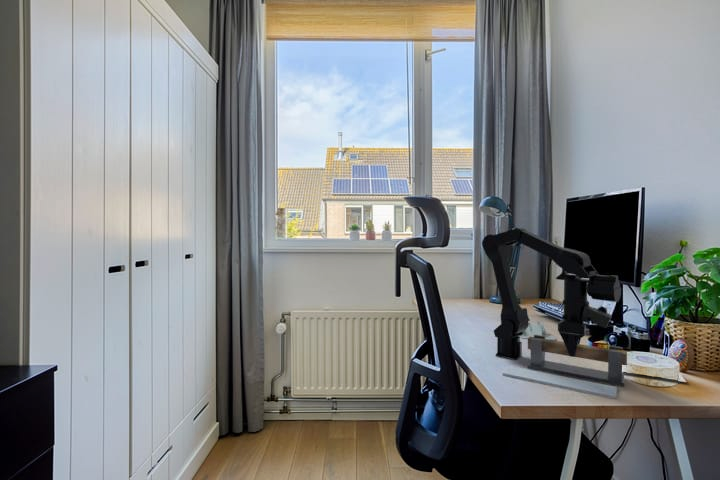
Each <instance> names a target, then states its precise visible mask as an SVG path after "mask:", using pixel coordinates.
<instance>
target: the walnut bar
mask: <svg viewBox="0 0 720 480" xmlns="http://www.w3.org/2000/svg"><path fill="white" fill-rule="evenodd" d="M531 338H533V339H540V340H542V352H545V353H549V354H555V355H561V356H567V357H571V356H570V355H569V353H568V350H567V348H566V346H565V344H564V341H563V340H562V341H561V340H556V341H555V340H549V339H542V338H535V337H529V338H528V339H527V350H530V339H531ZM608 350H612V351H619V352H622V365H626V366H627V365H628V362H627V361H628V351H627V350H623V351H622V350H615V349H609V347H608V348H607V347H601V346H594V345H590V344H589V345H587V344H581V343H580V344H578V345H577V349H576V353H575V357H574V358H578V359H579V358H580V359H585V360H589V361H590V360H591V361H597V362H604V363H608Z"/></svg>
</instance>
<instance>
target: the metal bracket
mask: <svg viewBox="0 0 720 480" xmlns="http://www.w3.org/2000/svg"><path fill="white" fill-rule="evenodd" d="M534 335H541V336H545V339H549V340H555V341H557V339H556V337H555V336H554V335H548V333H547V331H546V327H544V324H543V323H541V322H540V320H536V322H529V325H528V328H527V329H526V330H525V331H524V332H523V334H522V336H519V337H520V338H521V339H520V340H523V339H524V340H528V338H529V337H534Z"/></svg>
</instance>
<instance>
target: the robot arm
mask: <svg viewBox="0 0 720 480" xmlns="http://www.w3.org/2000/svg"><path fill="white" fill-rule="evenodd" d="M517 243H520V244H522V245H524V246H525V247H527V248H529V249H531V250H534V251H535V252H537V253H539V254H542V255H543V256H545V257H547V258H549V259H551V260H552V261H553V262H554V263H555V265H557V267H559V268H561V269H562V270H563V271H561V272H560V274H559V275H557V276H556V277H555V280H558V281H563V300H562V305H563V313H562V318H561V319H562V320H560V321H559V322H558V323H557V332H558V334H559V335H560V337H561V340H562V342H564V344H565V346H566V348H567V350H568V353H569V355H570V356H569V357H572V358H576V357H575V353H576V349H577V345H578V344H581V339H582V338H583V337H585V335H586V330H587V329H588V327H589V326H590V322H592V323H594V324H596V325H599V327H602V328H604V329H607V327H608V325H609V323H610V322H611V319H612V315H611V313H608V308H606V307H605V306H602V305H600V306H599V307H597V308H596V307H592V306H590V302H589V300H588V296H589V297H591V299H592V300H597V301H605V302H613V303H619V301H620V300H621V296H622V287H621V284H620V281H619V276H618V275H604V274H603V275H602V274H599V273H598V271H597V270H596V269H595V267H594V266H593V265H592V263H591V262H592V261H591V258H590V256H589V255H588V254H587V253H585V252H582V251H579V250H576V249H571V248H567V247H563V246H561V245H558V244H556V243H554V242H551V241H549V240H547V239H545V238H542V237H541V236H538V235H537V234H534V233H532V232H531V231H528V230H526V229H525V228H523V227H513V228H511V229H510V230H507V231H503V232H499V233H497V234H487V235H484V237H483V239H482V240H481V245H482V249H483V251H484V254H485V255H486V256H487V258H488V259H489V261H490V262H491V266H492V269H493V272H494V277H495V281H496V285H497V288H498V294H499V297H500V298H499V299H500V302H501V310H500V324H499V325H498V326H497V327H496V328H495V329H493V333H494V337H495V338H497V344H496V345H497V347H496V351H497V352H496V353H495V356H496V357H499V358H504V359H505V358H506V359H509V360H510V359H511V360H518V359H519V358H520V357H521V356H522V355H523V352H522V351H523V348H522V347H523V343H522V341H521V339H520V337H519V336H522V334H523V332H524V331H525V330H526V329H527V328H528V325H529V323H530V321H531V319H530V317H529V315H528V309H527V308H526V307H525V308H522V307H521V305H520V303H519V302H518V299H517V294H516V290H515V287H514V286H515V285H514V282H513V278H512V274H511V270H510V265H509V262H508V257H509V253H510V248H509V246H512V245H515V244H517ZM584 322H585V323H584Z"/></svg>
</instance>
